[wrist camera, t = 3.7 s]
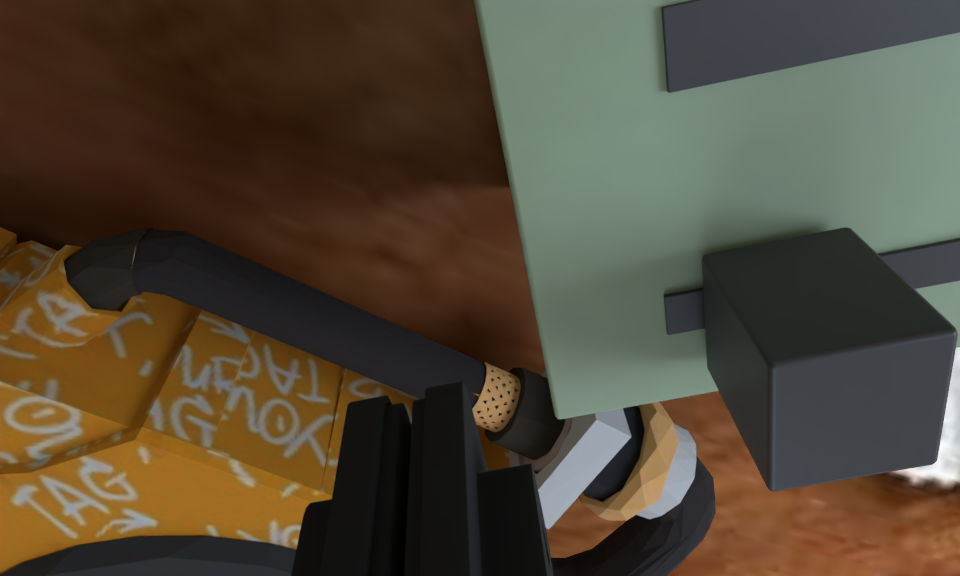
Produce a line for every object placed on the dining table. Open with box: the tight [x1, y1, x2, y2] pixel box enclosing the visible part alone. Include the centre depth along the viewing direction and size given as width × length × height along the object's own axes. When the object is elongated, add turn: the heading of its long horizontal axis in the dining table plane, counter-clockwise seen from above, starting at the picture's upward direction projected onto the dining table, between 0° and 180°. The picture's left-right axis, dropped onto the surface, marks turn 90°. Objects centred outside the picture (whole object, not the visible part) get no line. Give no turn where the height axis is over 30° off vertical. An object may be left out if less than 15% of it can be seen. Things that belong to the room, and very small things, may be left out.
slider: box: [702, 227, 958, 491], centre depth 11 cm, size 2×2×3 cm
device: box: [0, 227, 715, 576], centre depth 25 cm, size 23×8×30 cm
